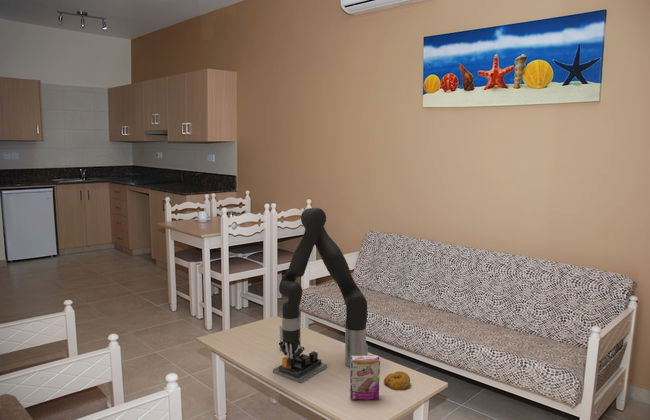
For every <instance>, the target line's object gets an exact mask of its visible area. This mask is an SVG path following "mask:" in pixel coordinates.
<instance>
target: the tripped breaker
mask: <svg viewBox="0 0 650 420" xmlns="http://www.w3.org/2000/svg"><path fill="white" fill-rule="evenodd" d="M281 365H282V367H283V368H286V369H291V366H289V364H288V357H287V355H285V356H284V357H282V358H281Z"/></svg>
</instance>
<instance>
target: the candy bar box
mask: <svg viewBox="0 0 650 420" xmlns="http://www.w3.org/2000/svg"><path fill="white" fill-rule="evenodd" d="M380 364H381V360H380V357H379V355H368V356H351V364H350V367H349V368H350V369H349V370H350V371H349V372H350V375H349V377H350V378H349V395H350V400H351V401H370V400H371V401H375V400H377V401H378V400H379V399H380V372H381V371H380V366H381V365H380Z"/></svg>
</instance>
